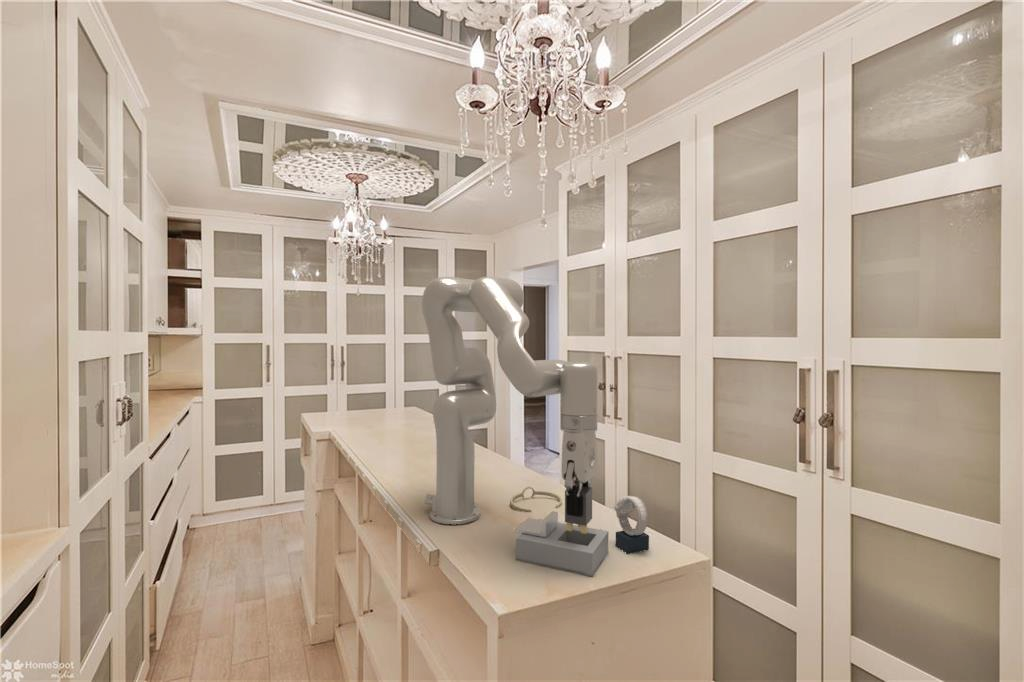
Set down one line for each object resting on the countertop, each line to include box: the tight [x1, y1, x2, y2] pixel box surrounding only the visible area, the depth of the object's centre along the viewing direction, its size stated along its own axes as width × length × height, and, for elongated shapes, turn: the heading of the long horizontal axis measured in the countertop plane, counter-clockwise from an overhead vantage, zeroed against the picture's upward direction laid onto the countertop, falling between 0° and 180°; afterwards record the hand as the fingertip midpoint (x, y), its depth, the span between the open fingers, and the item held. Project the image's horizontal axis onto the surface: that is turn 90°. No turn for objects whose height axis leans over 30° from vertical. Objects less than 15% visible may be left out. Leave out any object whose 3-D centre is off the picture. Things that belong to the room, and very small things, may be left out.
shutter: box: [514, 510, 559, 537], centre depth 107 cm, size 7×7×3 cm
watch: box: [614, 495, 650, 555], centre depth 109 cm, size 6×8×11 cm
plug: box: [564, 483, 593, 534], centre depth 103 cm, size 4×4×10 cm
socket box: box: [515, 518, 609, 578], centre depth 105 cm, size 16×12×4 cm
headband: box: [509, 486, 563, 513], centre depth 136 cm, size 15×4×10 cm
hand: (578, 510), depth 103 cm, fingers closed on plug, 4 cm apart
